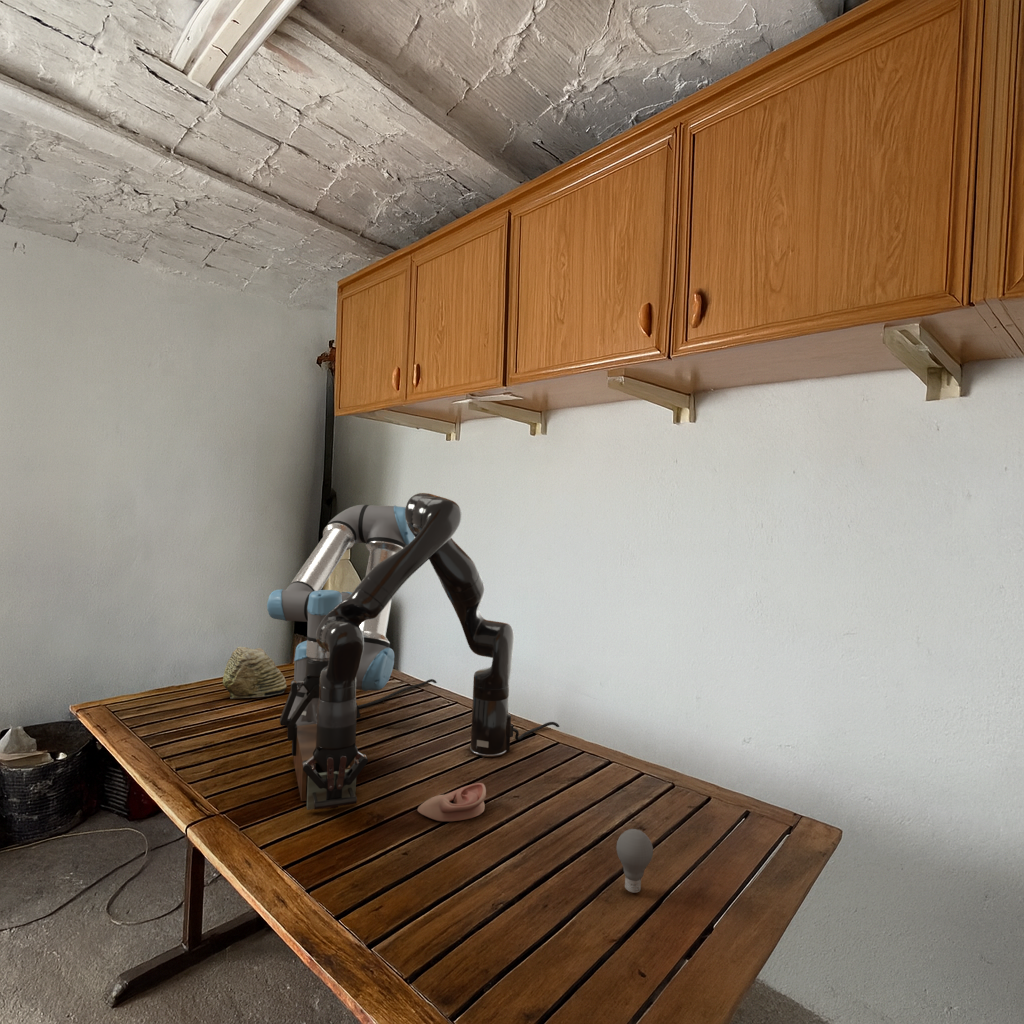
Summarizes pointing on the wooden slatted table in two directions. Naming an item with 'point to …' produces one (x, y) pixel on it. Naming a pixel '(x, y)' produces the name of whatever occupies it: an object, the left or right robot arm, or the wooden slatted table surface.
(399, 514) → the left robot arm
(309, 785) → the drawer
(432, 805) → the anatomical model
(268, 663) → the fossil
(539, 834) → the wooden slatted table surface
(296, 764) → the cabinet
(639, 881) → the light bulb
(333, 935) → the wooden slatted table surface
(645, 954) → the wooden slatted table surface
